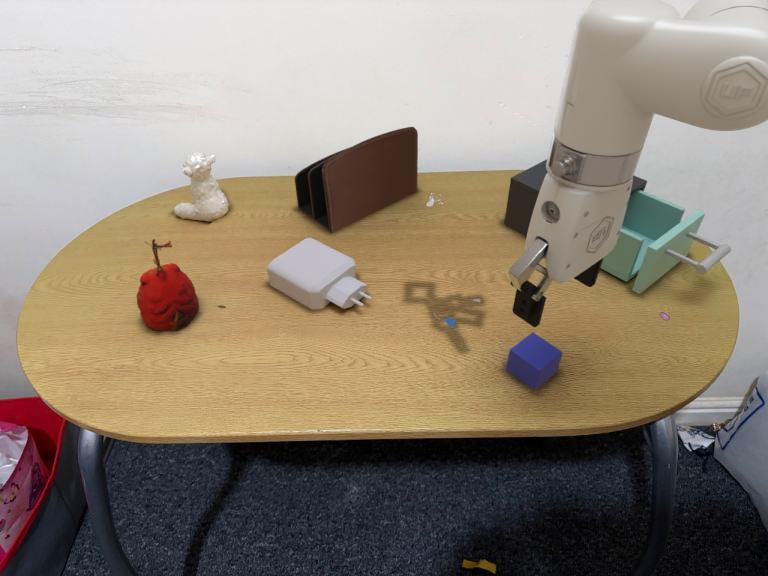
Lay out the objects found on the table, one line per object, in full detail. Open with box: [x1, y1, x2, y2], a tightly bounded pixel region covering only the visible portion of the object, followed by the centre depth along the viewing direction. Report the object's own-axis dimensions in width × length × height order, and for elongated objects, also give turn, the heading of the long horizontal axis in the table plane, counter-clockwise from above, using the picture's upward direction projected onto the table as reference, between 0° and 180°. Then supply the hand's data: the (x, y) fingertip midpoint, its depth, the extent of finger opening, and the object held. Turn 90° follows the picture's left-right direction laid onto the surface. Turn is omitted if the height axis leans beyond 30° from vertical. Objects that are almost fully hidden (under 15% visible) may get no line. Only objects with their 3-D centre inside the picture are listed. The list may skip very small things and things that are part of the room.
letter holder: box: [294, 126, 419, 234], centre depth 92 cm, size 10×20×14 cm, turn 131°
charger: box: [266, 237, 373, 311], centre depth 77 cm, size 5×9×15 cm
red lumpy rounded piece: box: [136, 238, 200, 332], centre depth 70 cm, size 8×7×15 cm
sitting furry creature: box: [173, 151, 230, 223], centre depth 91 cm, size 10×9×12 cm
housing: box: [503, 159, 648, 237], centre depth 86 cm, size 15×15×10 cm
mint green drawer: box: [600, 190, 732, 295], centre depth 78 cm, size 19×13×8 cm
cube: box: [505, 332, 564, 391], centre depth 64 cm, size 4×4×4 cm
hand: (554, 298), depth 59 cm, fingers open, 9 cm apart
